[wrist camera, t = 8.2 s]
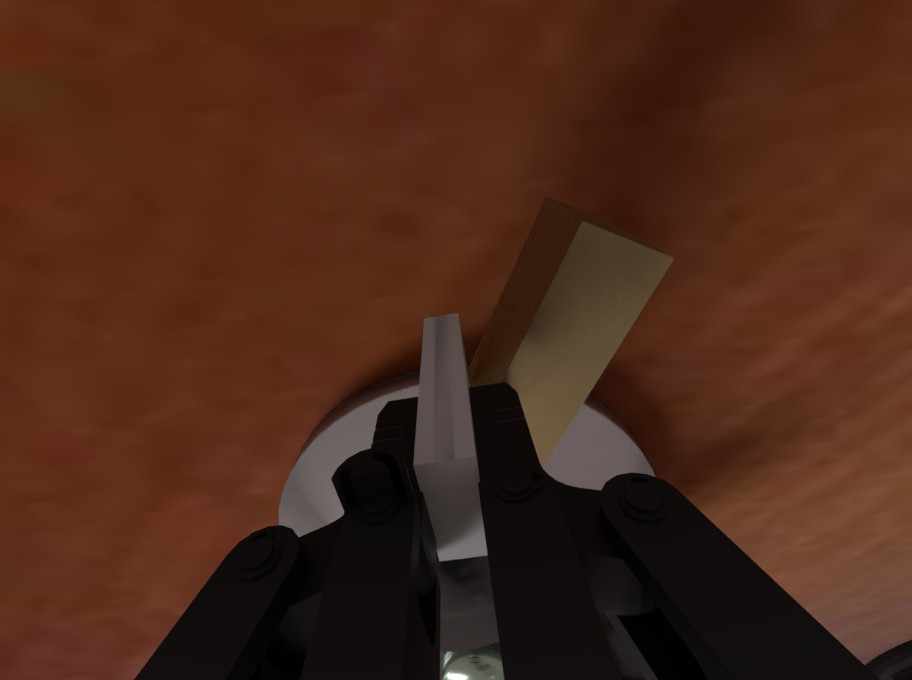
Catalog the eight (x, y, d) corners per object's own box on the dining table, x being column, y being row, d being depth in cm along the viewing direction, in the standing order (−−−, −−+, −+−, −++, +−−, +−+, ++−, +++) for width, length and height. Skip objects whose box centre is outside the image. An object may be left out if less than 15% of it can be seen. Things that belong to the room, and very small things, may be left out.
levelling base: (662, 335, 20) (834, 501, 11) (636, 600, 30) (715, 799, 21) (233, 391, 21) (73, 579, 12) (346, 626, 31) (303, 824, 22)
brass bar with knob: (479, 489, 21) (492, 662, 14) (384, 464, 20) (348, 635, 13) (625, 225, 15) (772, 303, 8) (497, 173, 14) (539, 210, 7)
